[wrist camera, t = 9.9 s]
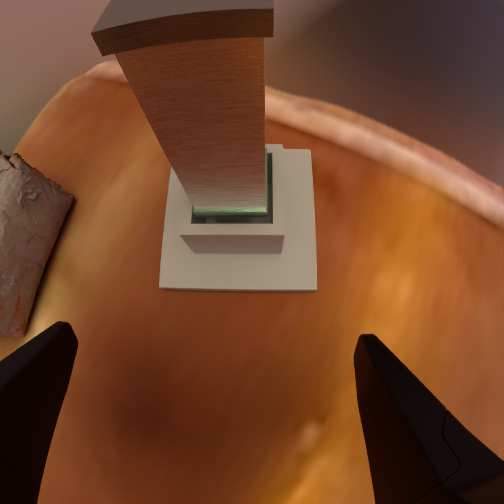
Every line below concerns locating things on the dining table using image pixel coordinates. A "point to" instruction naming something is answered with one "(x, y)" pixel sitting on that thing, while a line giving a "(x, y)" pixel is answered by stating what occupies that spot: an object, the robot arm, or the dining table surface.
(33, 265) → the food item
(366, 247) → the dining table surface
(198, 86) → the column
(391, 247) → the dining table surface
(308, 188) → the stand base
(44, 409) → the robot arm
